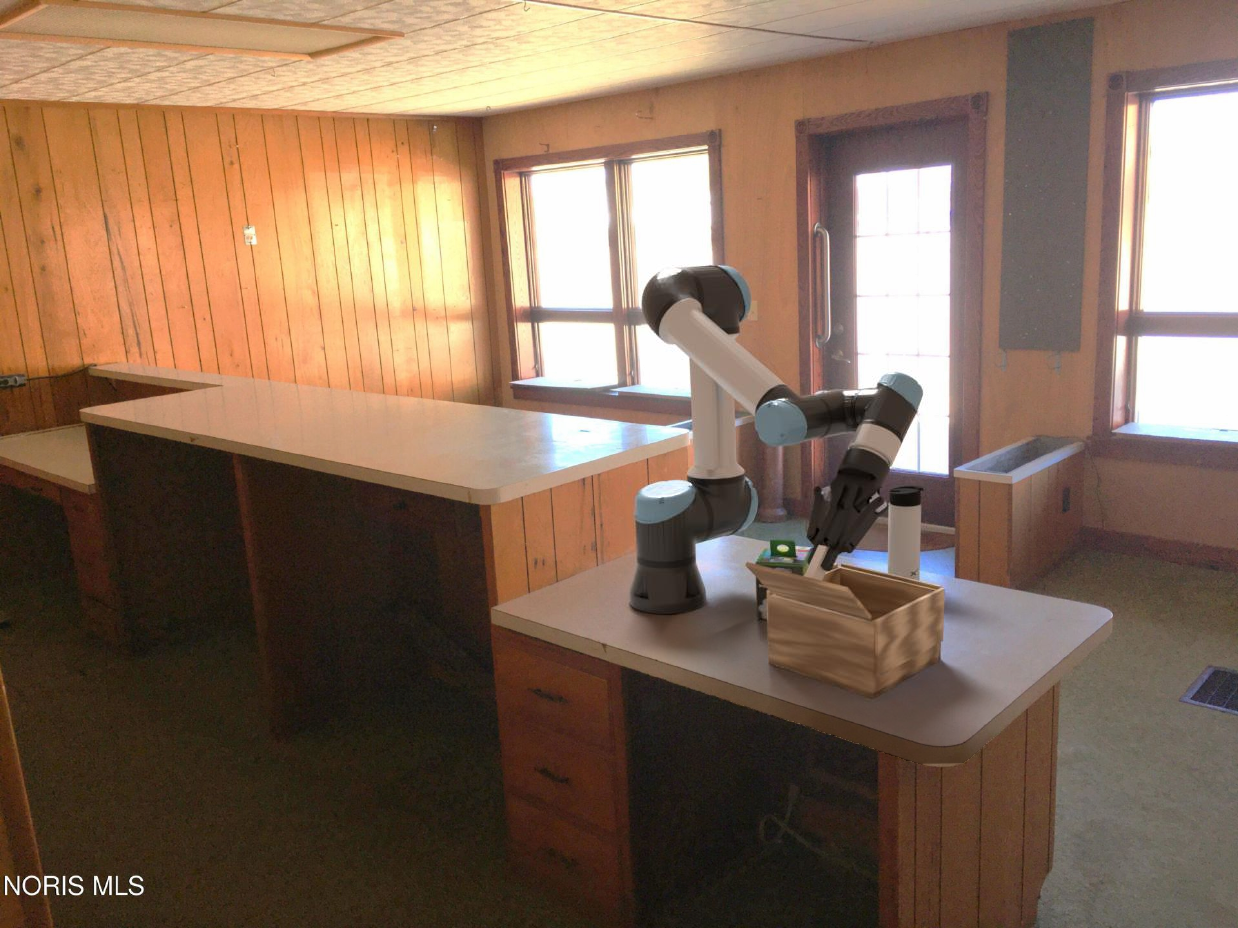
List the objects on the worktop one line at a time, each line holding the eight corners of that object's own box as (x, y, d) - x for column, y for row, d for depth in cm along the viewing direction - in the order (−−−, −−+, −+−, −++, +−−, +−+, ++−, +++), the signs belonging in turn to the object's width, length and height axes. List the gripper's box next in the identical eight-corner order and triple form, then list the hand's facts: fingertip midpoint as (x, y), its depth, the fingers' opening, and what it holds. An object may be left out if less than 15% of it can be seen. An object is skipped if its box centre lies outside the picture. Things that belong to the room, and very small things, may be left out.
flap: (870, 619, 150) (845, 590, 144) (771, 592, 163) (745, 565, 158) (872, 616, 150) (847, 587, 144) (772, 589, 163) (746, 561, 158)
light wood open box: (876, 699, 151) (877, 621, 149) (765, 662, 167) (765, 591, 164) (945, 658, 165) (947, 586, 162) (837, 627, 180) (838, 561, 178)
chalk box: (812, 607, 191) (812, 532, 188) (805, 624, 183) (804, 546, 180) (764, 603, 194) (763, 530, 191) (755, 620, 186) (754, 543, 183)
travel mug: (922, 588, 199) (924, 490, 195) (888, 587, 200) (889, 490, 196) (919, 578, 205) (921, 483, 201) (886, 577, 206) (888, 483, 202)
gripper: (913, 476, 158) (855, 606, 151) (843, 467, 167) (785, 588, 160) (895, 450, 153) (835, 583, 146) (824, 441, 163) (764, 566, 155)
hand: (809, 585), depth 153 cm, fingers closed
